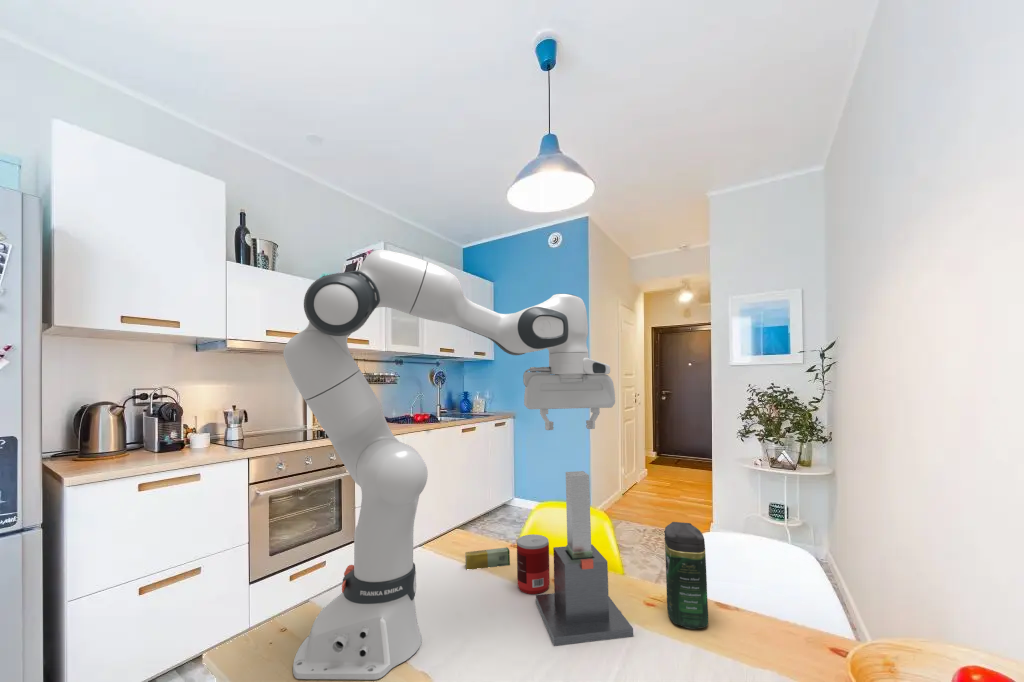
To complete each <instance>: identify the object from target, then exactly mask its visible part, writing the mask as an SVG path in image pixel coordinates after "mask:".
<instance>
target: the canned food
mask: <svg viewBox="0 0 1024 682" xmlns="http://www.w3.org/2000/svg"><path fill="white" fill-rule="evenodd" d="M516 568H517V570H516V571H517V573H516V574H517V575H516V576H517V579H516V580H517V587H518V589H519V591H521V592H522V593H524V594H529V595H541V594H544V592H547V591H548V589H549V588H550V580H551V579H550V541H549V538H548V537H546V536H544V535H542V534H541V535H540V534H525V535H522V536H520V537H518V538H517V540H516Z"/></svg>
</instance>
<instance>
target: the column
mask: <svg viewBox="0 0 1024 682" xmlns="http://www.w3.org/2000/svg"><path fill="white" fill-rule="evenodd" d="M590 491H591V490H590V474H588V473H587V472H585V471H583V470H580V471H579V470H576V471H565V497H566V498H565V499H566V501H565V503H566V508H565V509H566V539H567V541H566V542H567V544H566V546H567V552H568V556H569V557H570V559H571V560H577V559H589V558H592V550H591V544H592V533H591V531H592V530H591V528H592V527H591V526H592V524H591V497H590V494H591V493H590Z"/></svg>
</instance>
